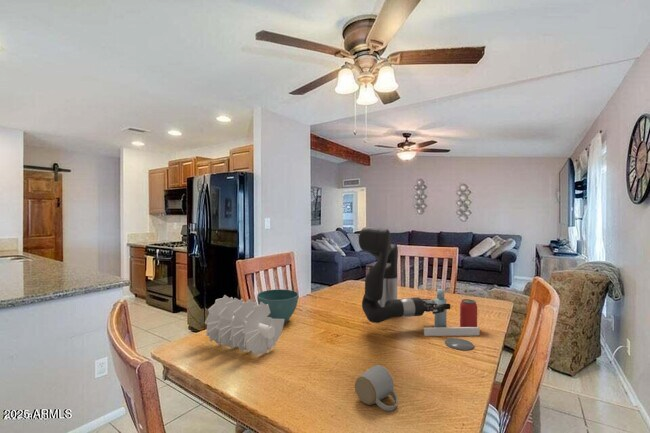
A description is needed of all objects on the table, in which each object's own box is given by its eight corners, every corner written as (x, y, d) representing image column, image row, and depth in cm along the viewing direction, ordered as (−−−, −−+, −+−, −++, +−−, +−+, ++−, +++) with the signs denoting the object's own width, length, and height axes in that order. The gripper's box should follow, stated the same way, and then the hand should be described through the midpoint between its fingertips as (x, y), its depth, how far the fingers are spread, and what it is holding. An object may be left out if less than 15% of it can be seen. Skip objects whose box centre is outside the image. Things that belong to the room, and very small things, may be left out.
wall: (424, 335, 128) (424, 328, 128) (423, 334, 129) (423, 327, 129) (479, 335, 129) (479, 327, 129) (478, 334, 130) (478, 326, 130)
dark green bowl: (304, 317, 151) (304, 291, 150) (287, 331, 134) (287, 301, 133) (269, 313, 157) (269, 288, 156) (249, 325, 140) (249, 297, 139)
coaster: (451, 350, 115) (451, 349, 115) (440, 339, 125) (440, 338, 125) (479, 350, 115) (479, 349, 115) (466, 339, 125) (466, 337, 125)
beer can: (479, 332, 132) (479, 303, 131) (461, 331, 133) (462, 302, 133) (474, 327, 138) (475, 299, 138) (458, 326, 139) (458, 298, 139)
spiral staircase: (261, 372, 107) (209, 352, 120) (290, 334, 121) (241, 319, 133) (246, 331, 100) (192, 314, 112) (279, 295, 113) (227, 283, 126)
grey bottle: (436, 329, 136) (437, 291, 135) (432, 325, 140) (433, 288, 140) (448, 329, 136) (448, 291, 136) (443, 325, 141) (444, 288, 140)
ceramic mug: (352, 399, 85) (352, 370, 85) (371, 387, 91) (371, 360, 91) (386, 418, 78) (386, 387, 78) (404, 404, 84) (405, 374, 83)
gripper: (418, 303, 128) (456, 300, 132) (401, 293, 141) (436, 291, 146) (418, 321, 128) (456, 318, 132) (401, 311, 142) (436, 308, 146)
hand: (445, 304), depth 139 cm, fingers closed on grey bottle, 4 cm apart
